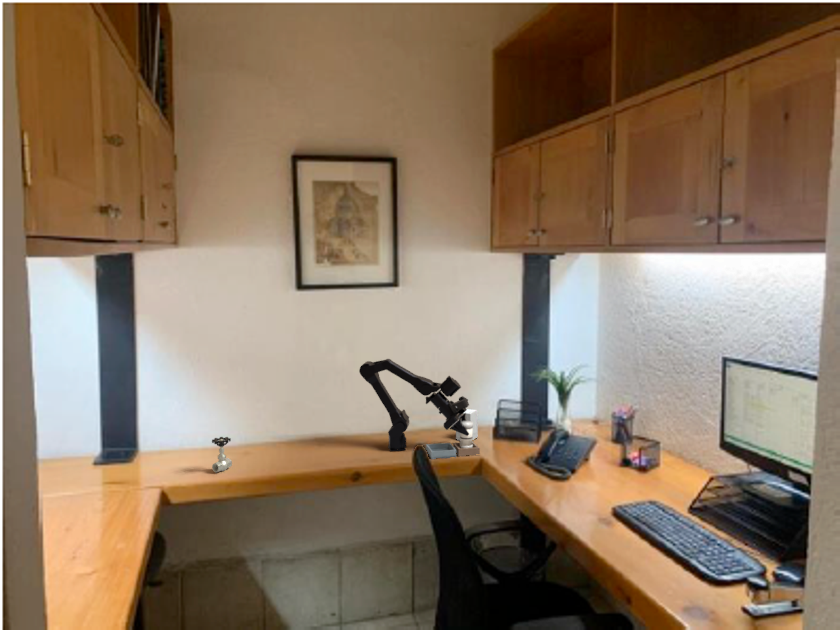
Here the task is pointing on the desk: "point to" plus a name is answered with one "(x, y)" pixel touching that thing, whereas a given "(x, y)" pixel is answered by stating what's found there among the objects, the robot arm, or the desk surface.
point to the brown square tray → (466, 450)
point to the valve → (221, 455)
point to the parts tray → (441, 450)
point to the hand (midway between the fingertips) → (469, 433)
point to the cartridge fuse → (467, 440)
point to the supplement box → (472, 416)
